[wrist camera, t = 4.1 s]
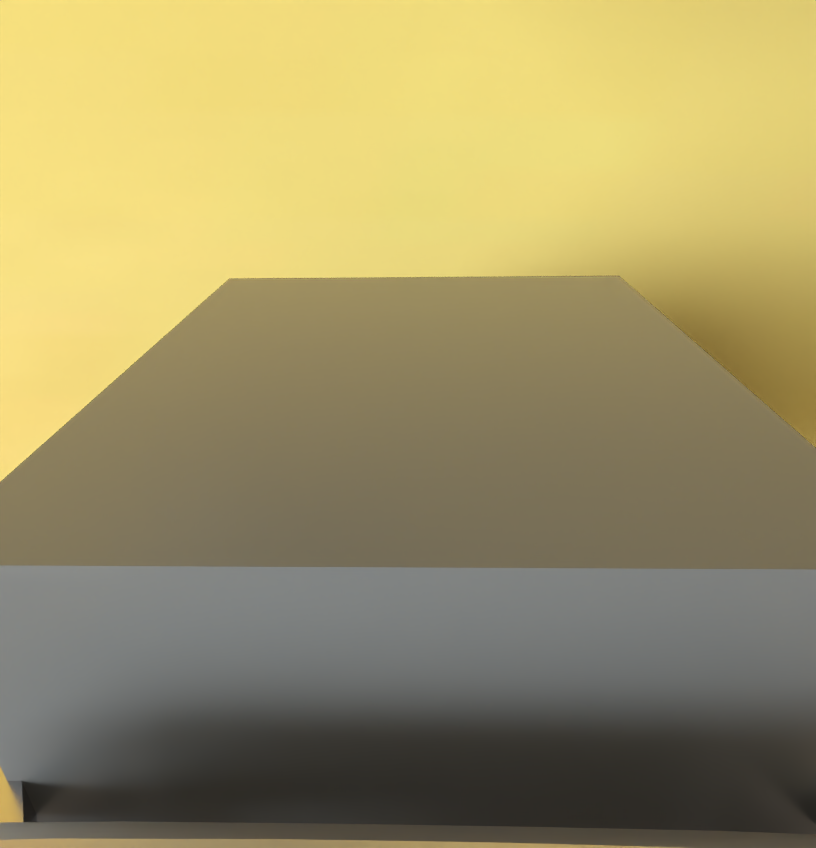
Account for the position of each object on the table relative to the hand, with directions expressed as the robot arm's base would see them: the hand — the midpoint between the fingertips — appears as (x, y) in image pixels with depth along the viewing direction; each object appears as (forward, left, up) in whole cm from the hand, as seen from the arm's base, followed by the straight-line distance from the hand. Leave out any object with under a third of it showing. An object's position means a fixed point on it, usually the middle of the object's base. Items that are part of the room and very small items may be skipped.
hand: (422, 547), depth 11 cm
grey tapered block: (0, 0, -4) cm, 4 cm away
